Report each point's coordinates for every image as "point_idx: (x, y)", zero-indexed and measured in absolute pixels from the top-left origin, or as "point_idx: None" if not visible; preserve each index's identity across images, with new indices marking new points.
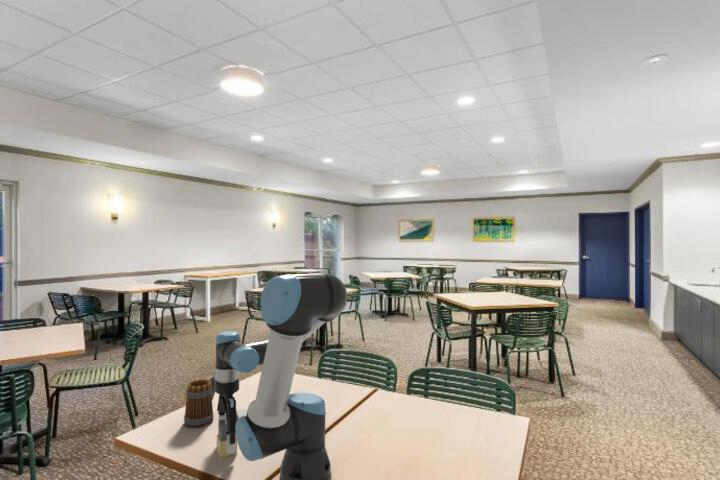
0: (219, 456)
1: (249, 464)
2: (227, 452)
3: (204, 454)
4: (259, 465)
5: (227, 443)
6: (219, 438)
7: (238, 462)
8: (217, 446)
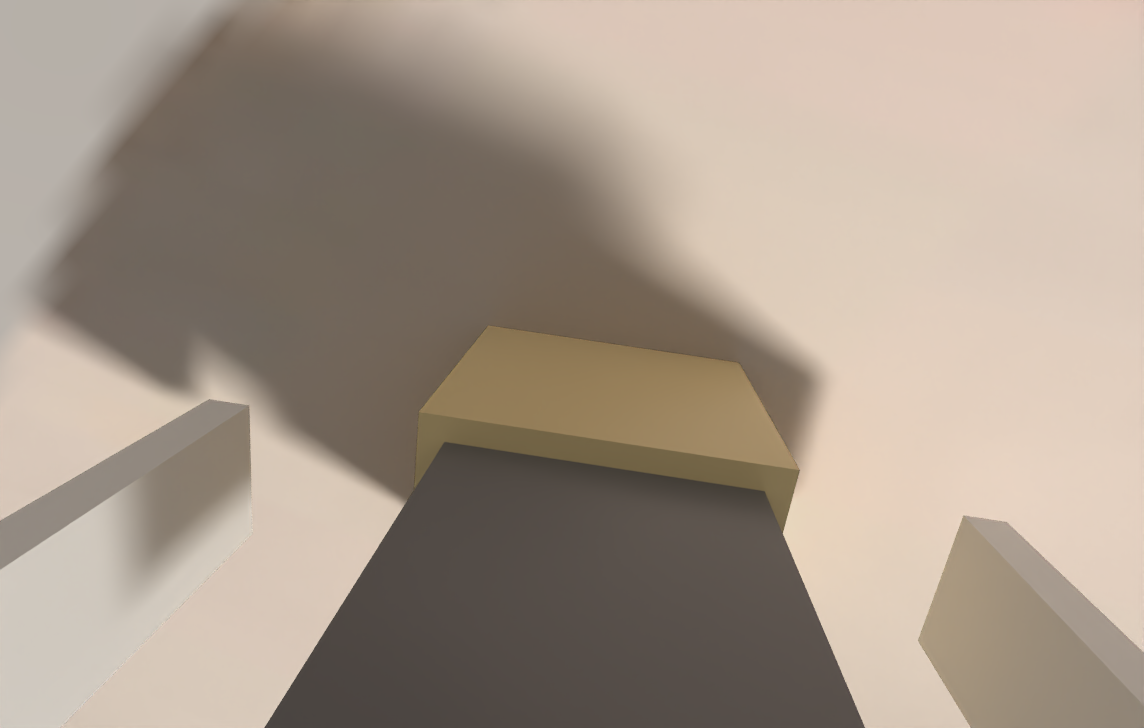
0: (520, 331)
1: None
2: (185, 413)
3: (737, 162)
4: None
5: (49, 492)
6: (599, 460)
7: None
8: (690, 381)
